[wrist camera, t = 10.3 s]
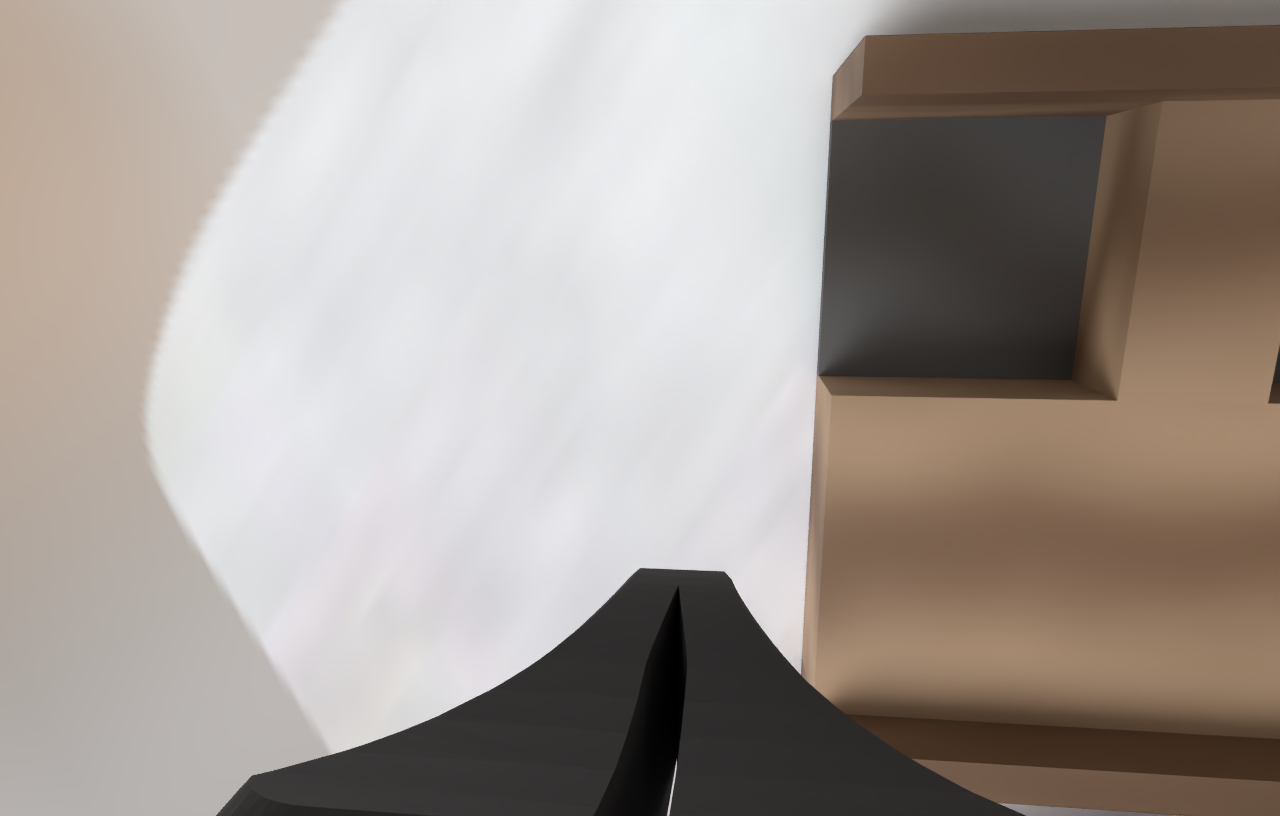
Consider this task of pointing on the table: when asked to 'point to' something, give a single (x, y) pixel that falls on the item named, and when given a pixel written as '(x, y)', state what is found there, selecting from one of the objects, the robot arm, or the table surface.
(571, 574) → the table surface
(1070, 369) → the trap track
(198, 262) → the table surface
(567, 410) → the table surface
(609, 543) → the table surface
